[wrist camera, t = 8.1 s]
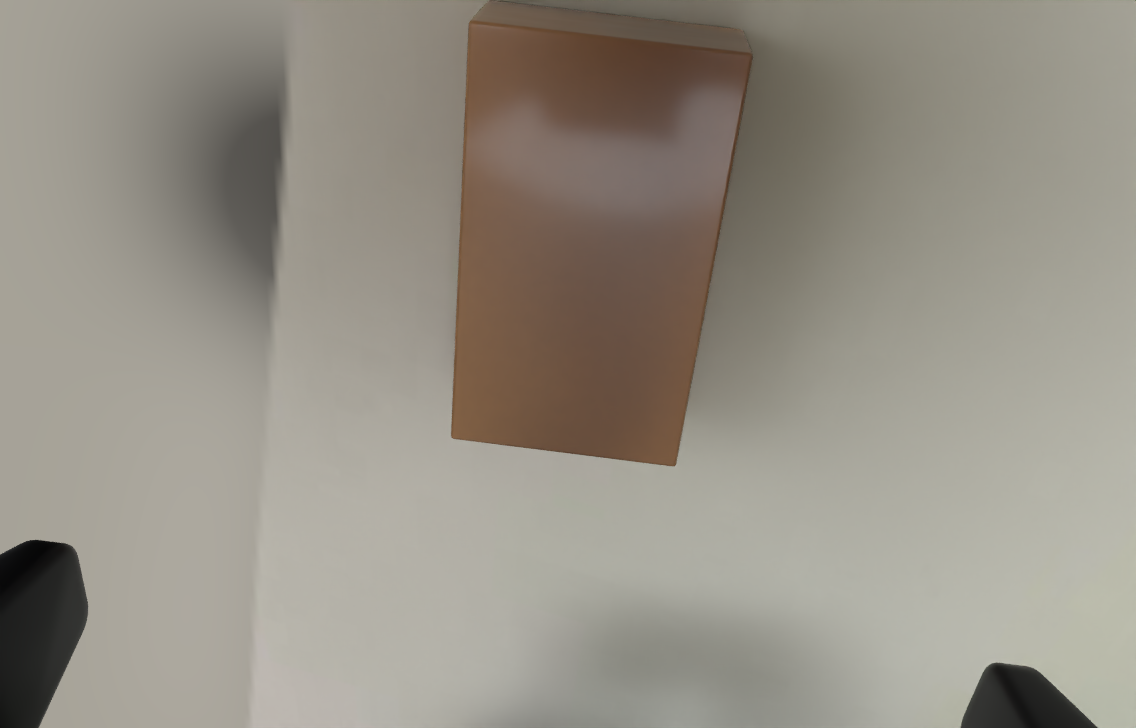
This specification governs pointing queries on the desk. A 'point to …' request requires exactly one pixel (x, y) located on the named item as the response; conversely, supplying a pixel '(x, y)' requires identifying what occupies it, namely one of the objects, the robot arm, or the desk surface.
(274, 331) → the desk surface
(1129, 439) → the desk surface
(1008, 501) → the desk surface
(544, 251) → the brown rectangular block
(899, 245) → the desk surface
